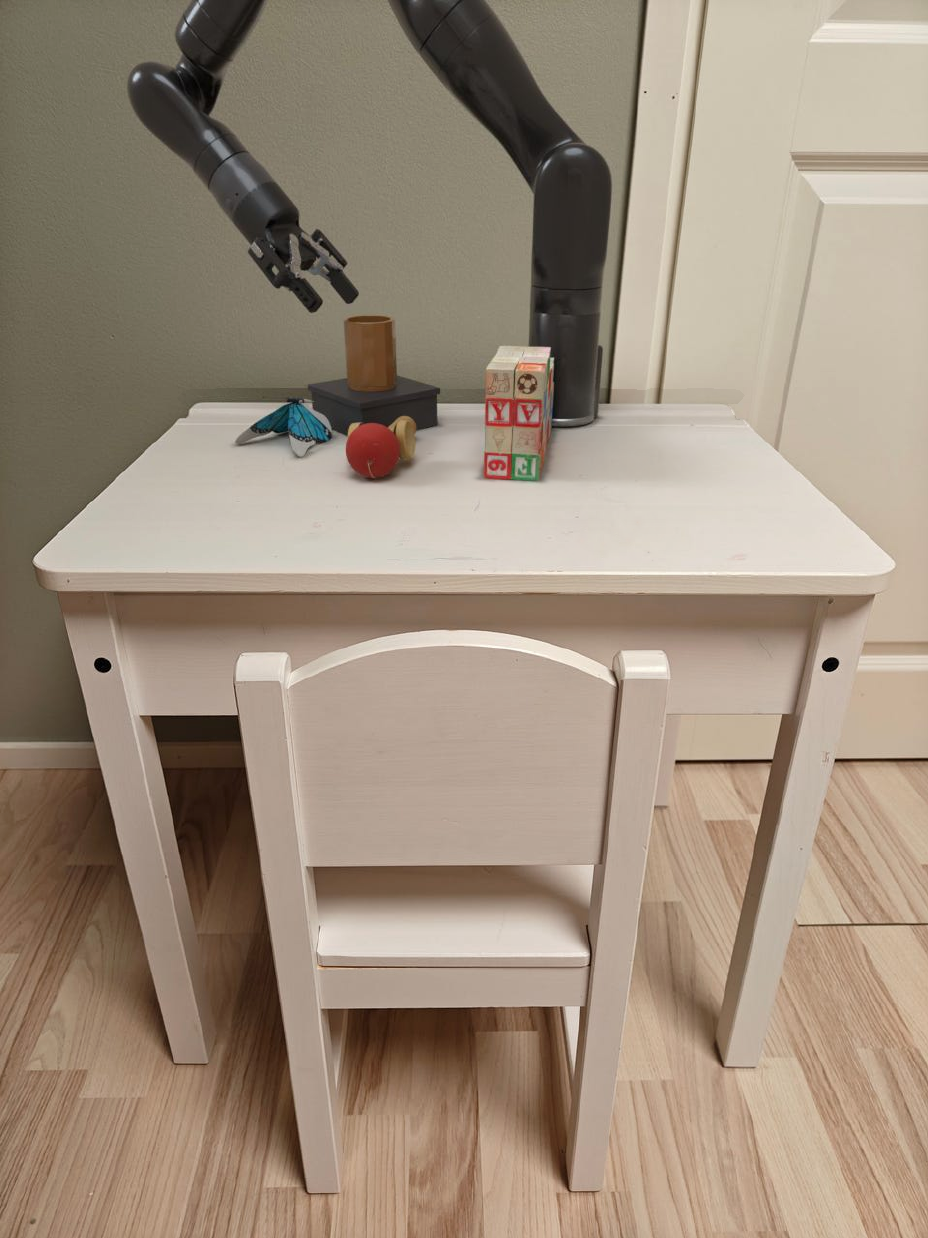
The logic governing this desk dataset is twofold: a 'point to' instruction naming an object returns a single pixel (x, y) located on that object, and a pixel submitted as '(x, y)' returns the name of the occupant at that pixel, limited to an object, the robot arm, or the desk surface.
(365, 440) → the kendama
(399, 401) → the black lidded box
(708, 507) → the desk surface
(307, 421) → the decorative butterfly
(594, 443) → the desk surface
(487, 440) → the stack of blocks
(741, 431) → the desk surface
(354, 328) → the cup
